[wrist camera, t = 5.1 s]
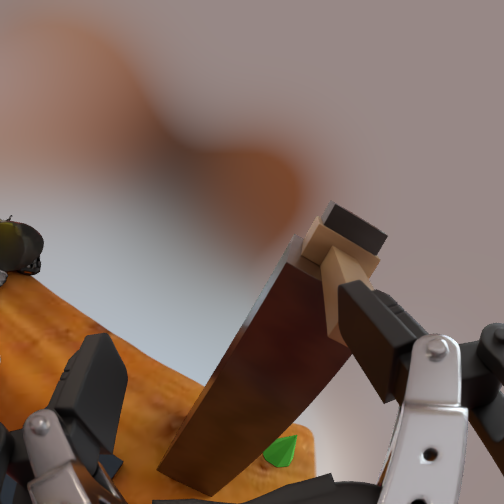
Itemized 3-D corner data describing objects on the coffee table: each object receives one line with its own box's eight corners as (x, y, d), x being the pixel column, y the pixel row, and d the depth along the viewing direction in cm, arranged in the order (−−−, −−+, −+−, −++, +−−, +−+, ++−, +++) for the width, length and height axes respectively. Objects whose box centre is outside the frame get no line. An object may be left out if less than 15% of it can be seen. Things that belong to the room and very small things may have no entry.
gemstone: (259, 462, 38) (279, 443, 36) (262, 435, 44) (280, 415, 42) (293, 471, 38) (314, 453, 37) (292, 445, 44) (312, 426, 42)
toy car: (41, 271, 48) (38, 282, 50) (43, 229, 55) (40, 241, 57) (15, 267, 44) (14, 279, 46) (20, 224, 51) (18, 237, 53)
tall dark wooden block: (156, 470, 29) (286, 261, 21) (186, 415, 41) (294, 233, 32) (211, 496, 29) (381, 315, 20) (232, 438, 41) (357, 269, 32)
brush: (292, 318, 13) (353, 217, 12) (302, 241, 30) (326, 197, 29) (396, 372, 13) (458, 286, 11) (352, 270, 30) (377, 228, 28)
